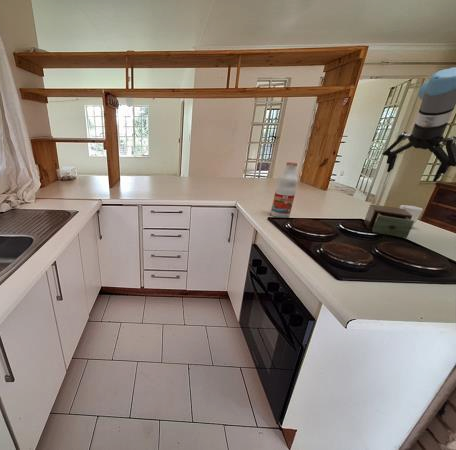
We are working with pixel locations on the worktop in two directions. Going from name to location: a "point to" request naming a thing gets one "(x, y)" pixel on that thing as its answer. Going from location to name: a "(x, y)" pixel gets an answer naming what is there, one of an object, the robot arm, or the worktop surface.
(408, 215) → the cabinet
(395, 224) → the drawer
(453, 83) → the robot arm
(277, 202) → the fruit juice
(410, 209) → the white cup
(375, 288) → the worktop surface
